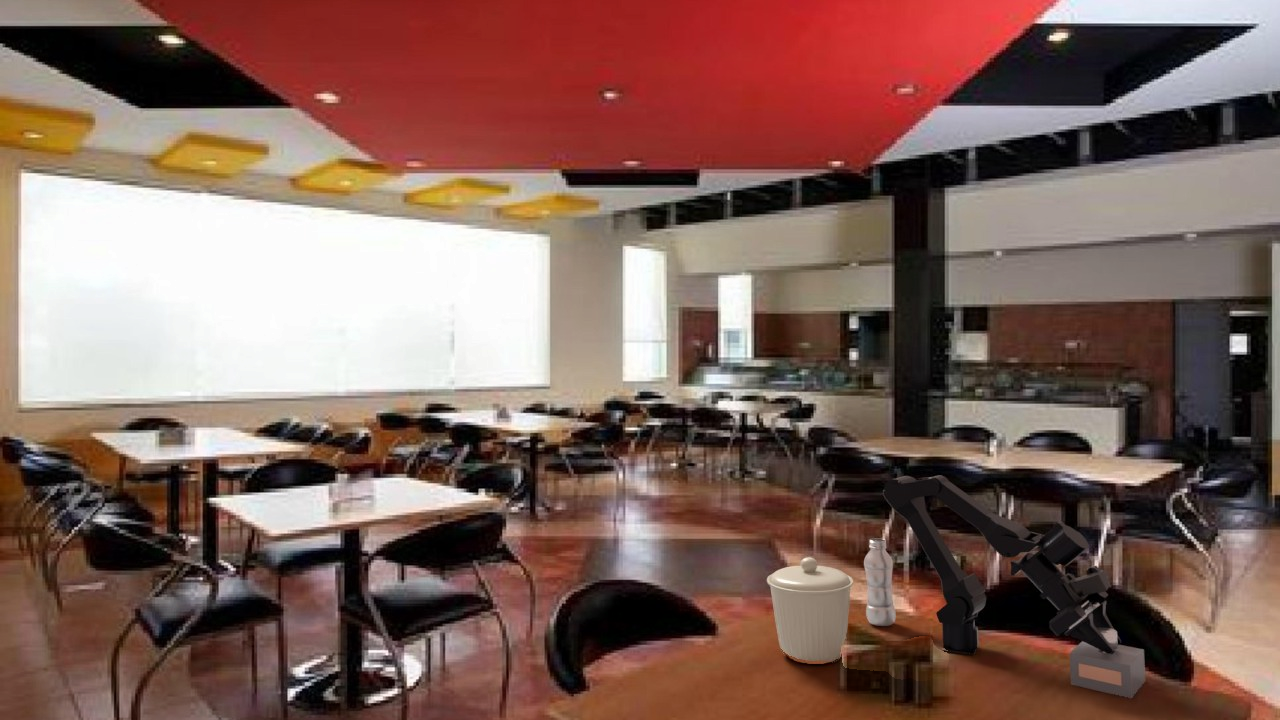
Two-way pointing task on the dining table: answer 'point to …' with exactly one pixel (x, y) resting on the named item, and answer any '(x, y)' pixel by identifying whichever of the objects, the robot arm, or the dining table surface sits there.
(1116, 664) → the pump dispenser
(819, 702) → the dining table surface
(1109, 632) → the pump plunger
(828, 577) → the canister
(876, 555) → the plastic bottle
